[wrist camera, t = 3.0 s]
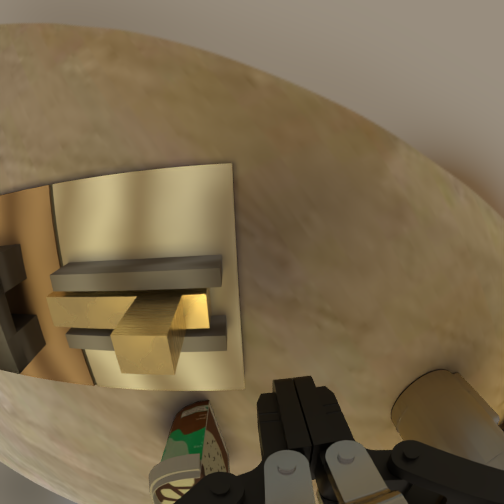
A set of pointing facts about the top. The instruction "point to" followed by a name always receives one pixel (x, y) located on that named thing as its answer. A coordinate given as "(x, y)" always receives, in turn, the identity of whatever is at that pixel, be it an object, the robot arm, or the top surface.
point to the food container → (189, 454)
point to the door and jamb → (120, 272)
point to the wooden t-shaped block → (137, 322)
